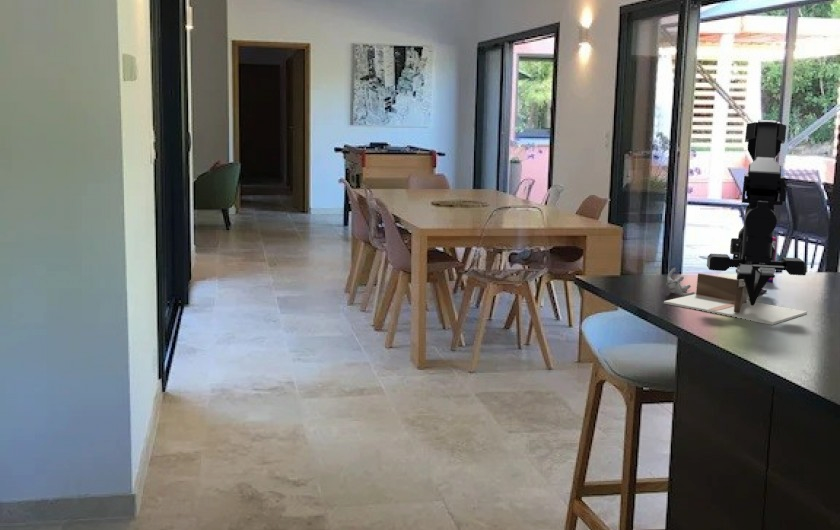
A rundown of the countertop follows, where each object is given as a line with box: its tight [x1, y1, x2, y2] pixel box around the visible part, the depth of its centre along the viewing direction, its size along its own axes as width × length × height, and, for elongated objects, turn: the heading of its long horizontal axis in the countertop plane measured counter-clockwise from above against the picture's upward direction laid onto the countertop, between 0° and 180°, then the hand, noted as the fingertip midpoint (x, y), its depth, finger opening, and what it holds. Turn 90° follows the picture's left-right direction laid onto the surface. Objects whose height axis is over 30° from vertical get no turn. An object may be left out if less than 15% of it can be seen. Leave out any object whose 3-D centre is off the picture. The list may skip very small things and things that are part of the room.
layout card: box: [663, 294, 808, 326], centre depth 188 cm, size 17×24×1 cm
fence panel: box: [734, 282, 745, 313], centre depth 185 cm, size 12×1×5 cm, turn 156°
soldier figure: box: [665, 267, 696, 297], centre depth 202 cm, size 8×5×12 cm
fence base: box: [695, 272, 748, 303], centre depth 196 cm, size 2×12×5 cm, turn 45°
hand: (751, 305), depth 183 cm, fingers closed
